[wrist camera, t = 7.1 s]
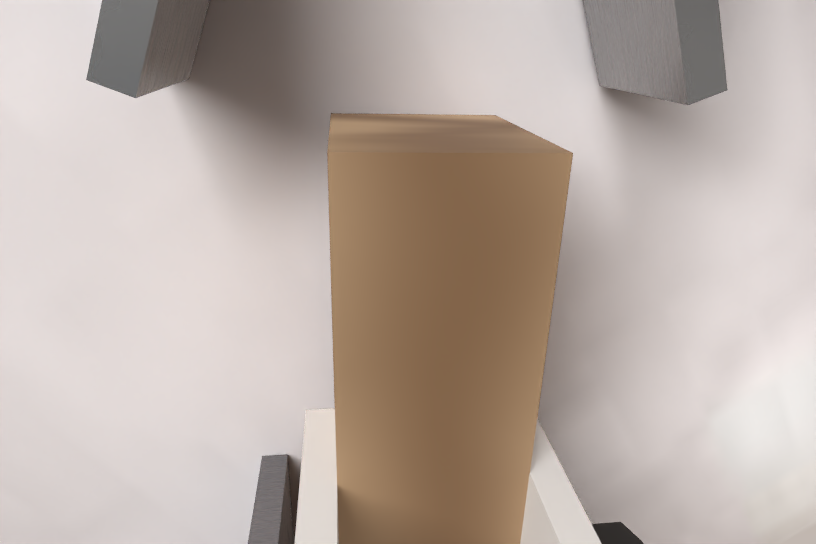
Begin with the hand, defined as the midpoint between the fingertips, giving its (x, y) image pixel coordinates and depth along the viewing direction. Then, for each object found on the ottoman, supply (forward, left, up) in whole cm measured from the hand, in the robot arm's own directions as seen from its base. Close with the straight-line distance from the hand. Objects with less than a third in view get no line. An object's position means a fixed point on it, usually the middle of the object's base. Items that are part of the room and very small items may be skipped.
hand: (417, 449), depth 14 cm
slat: (0, 0, -3) cm, 3 cm away
